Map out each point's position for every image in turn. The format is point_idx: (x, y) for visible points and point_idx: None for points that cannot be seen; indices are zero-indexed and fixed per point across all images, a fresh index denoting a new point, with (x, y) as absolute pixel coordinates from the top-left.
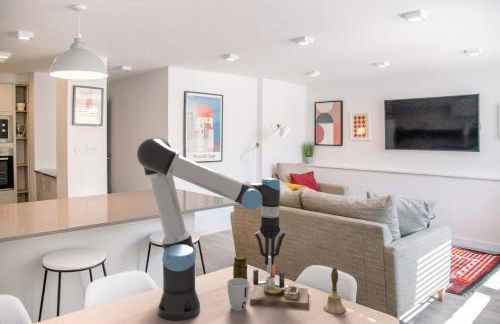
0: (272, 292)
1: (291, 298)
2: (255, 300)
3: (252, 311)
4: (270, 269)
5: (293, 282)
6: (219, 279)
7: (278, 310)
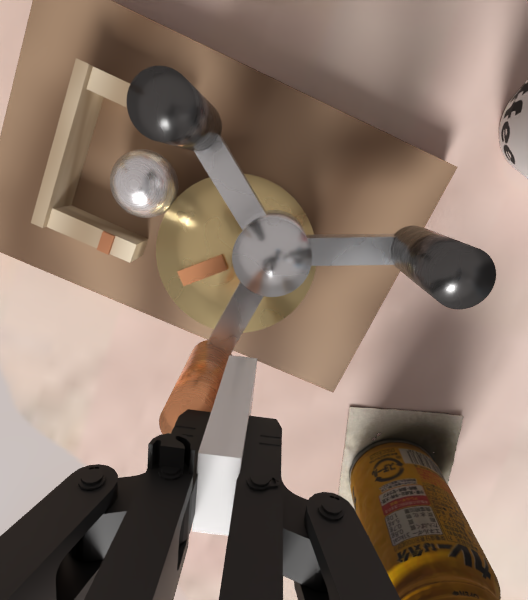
0: (272, 182)
1: None
2: (418, 149)
3: (472, 41)
4: (231, 372)
5: (49, 417)
6: None
7: (284, 6)
